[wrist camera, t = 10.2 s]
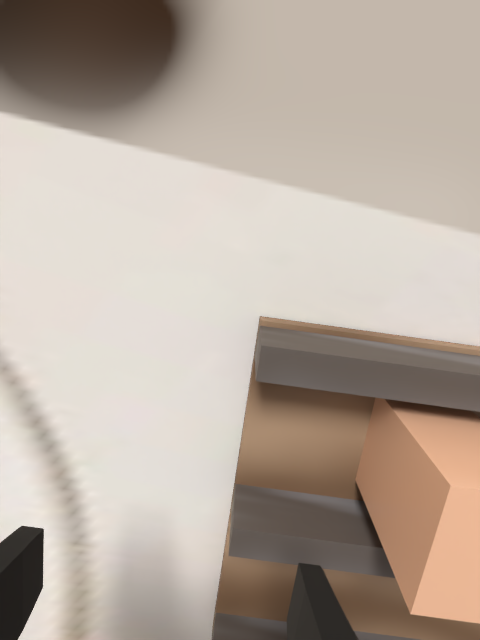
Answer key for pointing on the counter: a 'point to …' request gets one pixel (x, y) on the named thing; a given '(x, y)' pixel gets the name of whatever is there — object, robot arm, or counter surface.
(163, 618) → the counter surface
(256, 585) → the rack
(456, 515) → the block
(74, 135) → the counter surface
